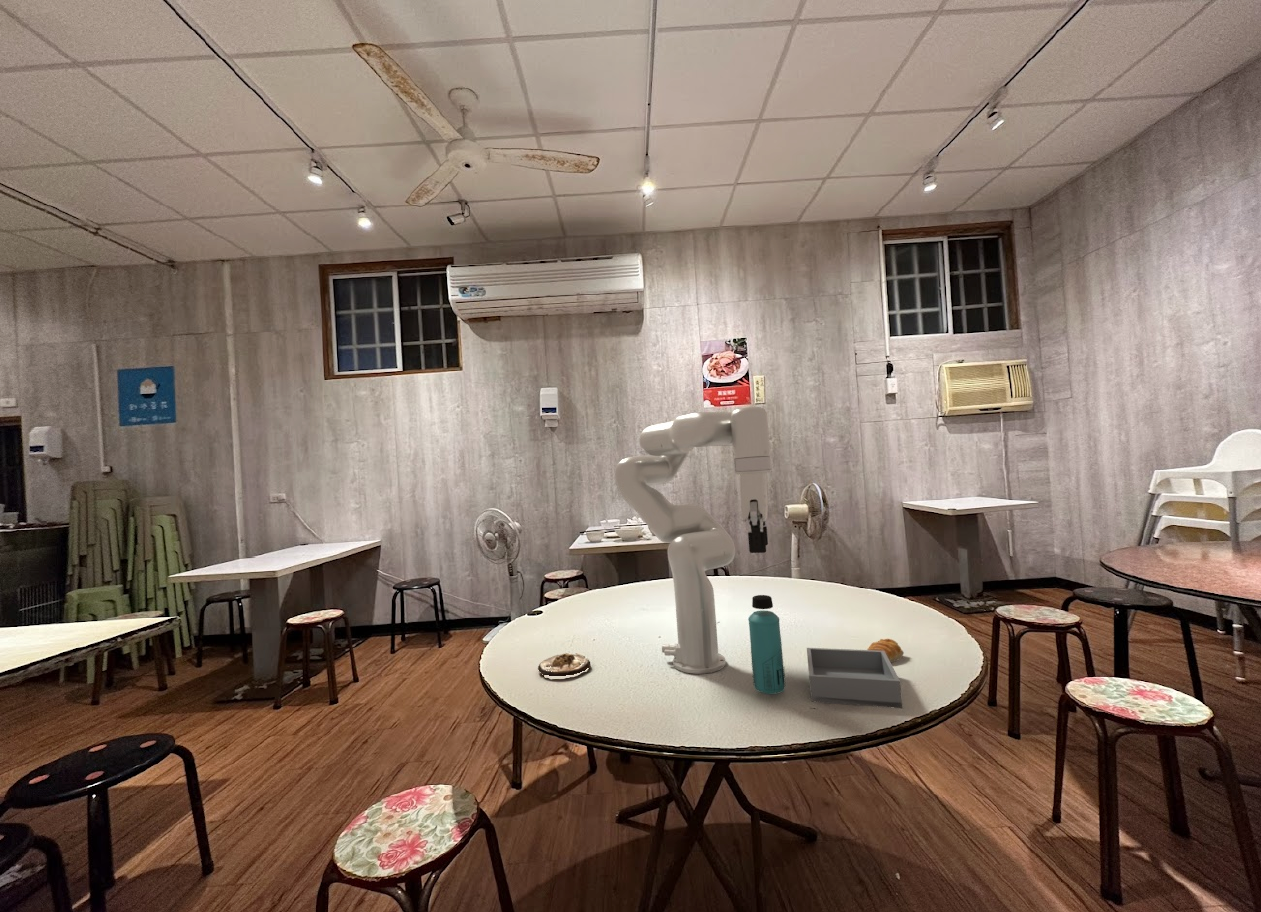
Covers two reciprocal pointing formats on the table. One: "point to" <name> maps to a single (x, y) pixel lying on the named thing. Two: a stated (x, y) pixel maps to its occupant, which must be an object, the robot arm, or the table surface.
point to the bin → (853, 677)
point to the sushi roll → (564, 665)
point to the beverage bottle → (766, 647)
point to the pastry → (888, 649)
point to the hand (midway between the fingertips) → (759, 548)
